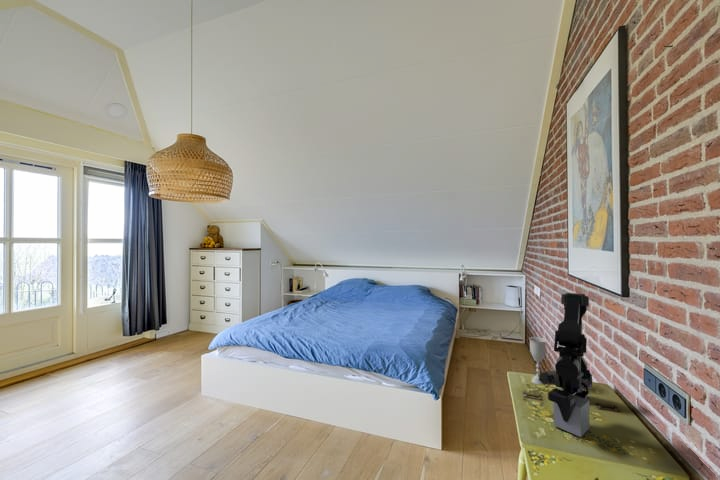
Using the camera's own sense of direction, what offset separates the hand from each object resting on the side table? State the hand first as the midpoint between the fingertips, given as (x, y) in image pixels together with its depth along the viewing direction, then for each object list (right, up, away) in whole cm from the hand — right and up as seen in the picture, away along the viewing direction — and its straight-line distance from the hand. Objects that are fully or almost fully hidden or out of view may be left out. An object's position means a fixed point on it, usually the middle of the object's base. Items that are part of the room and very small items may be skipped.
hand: (570, 417), depth 99 cm
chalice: (+8, -4, +32) cm, 34 cm away
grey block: (0, -3, 0) cm, 3 cm away
